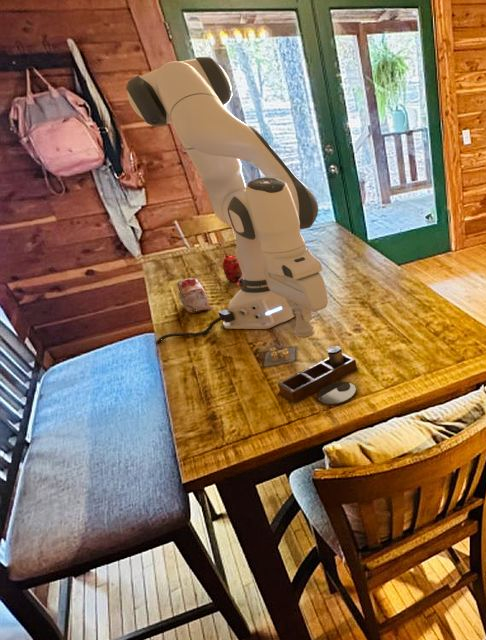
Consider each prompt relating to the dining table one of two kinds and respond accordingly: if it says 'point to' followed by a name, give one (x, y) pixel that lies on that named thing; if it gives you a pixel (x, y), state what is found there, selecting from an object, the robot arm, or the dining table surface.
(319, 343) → the dining table surface
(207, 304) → the food item
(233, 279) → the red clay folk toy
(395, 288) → the dining table surface
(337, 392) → the coaster
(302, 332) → the rook chess piece
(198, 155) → the robot arm
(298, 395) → the spice rack
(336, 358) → the spice tin
